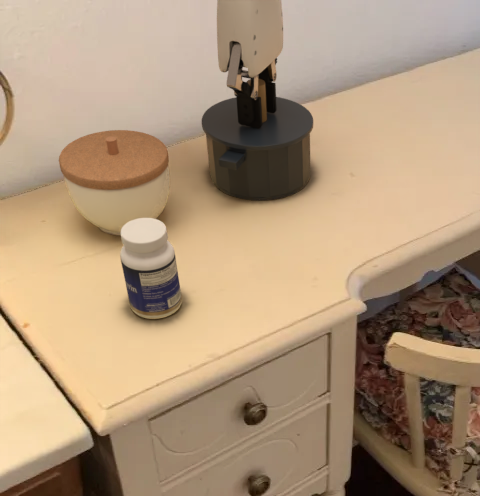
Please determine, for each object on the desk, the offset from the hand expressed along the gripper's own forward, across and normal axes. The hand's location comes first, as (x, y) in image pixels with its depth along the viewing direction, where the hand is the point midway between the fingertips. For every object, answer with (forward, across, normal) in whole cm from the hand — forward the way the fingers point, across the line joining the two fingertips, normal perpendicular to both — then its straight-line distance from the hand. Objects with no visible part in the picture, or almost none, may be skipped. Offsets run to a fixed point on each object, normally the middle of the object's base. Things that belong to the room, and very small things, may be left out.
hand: (257, 116), depth 110 cm
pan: (+8, 0, 0) cm, 8 cm away
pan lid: (+1, 0, 0) cm, 1 cm away
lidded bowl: (+9, +17, -11) cm, 22 cm away
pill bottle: (+9, +31, +1) cm, 32 cm away
